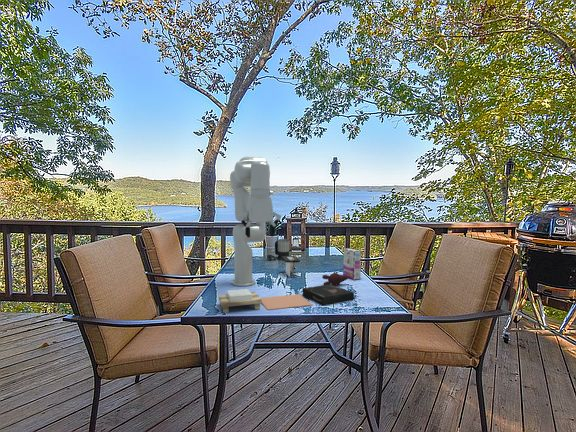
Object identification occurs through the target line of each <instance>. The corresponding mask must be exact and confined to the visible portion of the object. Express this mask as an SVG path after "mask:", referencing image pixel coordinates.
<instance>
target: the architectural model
mask: <svg viewBox="0 0 576 432" xmlns="http://www.w3.org/2000/svg"><path fill="white" fill-rule="evenodd" d="M282 259H283V260H282V261H284V262H285V273H286V275H287V276H288V277H289V278H290V277H291V274H292V275H293V274H294V268H295V266H296V263H300V262H301V259H299V258H298V257H297V253H296V252H295V254H294V255H289V256H282Z"/></svg>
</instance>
